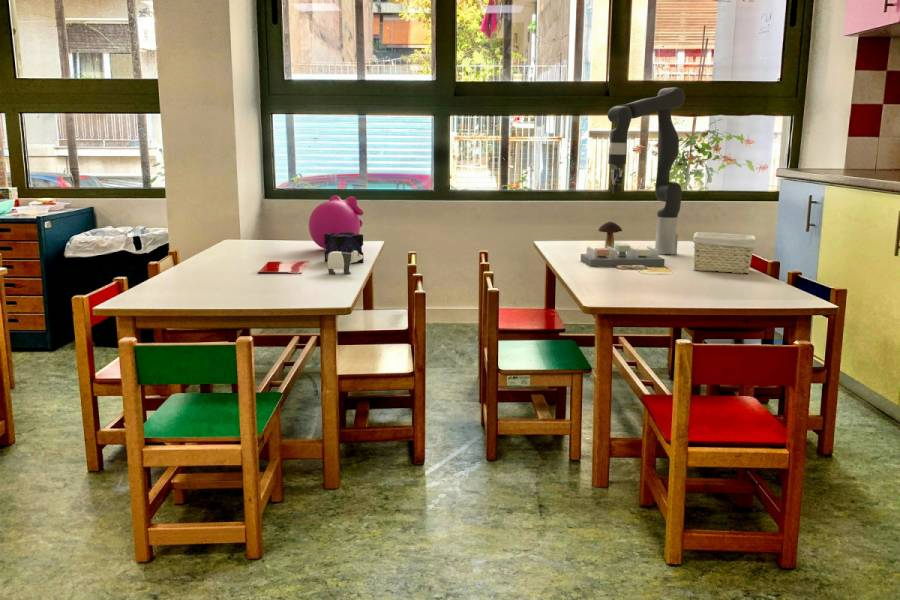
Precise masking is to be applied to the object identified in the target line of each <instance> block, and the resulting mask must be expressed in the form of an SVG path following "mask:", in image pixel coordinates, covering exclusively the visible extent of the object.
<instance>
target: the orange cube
mask: <svg viewBox="0 0 900 600" xmlns="http://www.w3.org/2000/svg"><path fill="white" fill-rule="evenodd" d="M594 249H595V250H597V255H598V257H605V256H609V249H607V248H605V247H595V248H594Z"/></svg>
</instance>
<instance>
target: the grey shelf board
mask: <svg viewBox="0 0 900 600" xmlns="http://www.w3.org/2000/svg"><path fill="white" fill-rule="evenodd" d="M646 248H647V249H650V255H647V256H646V257H639V255H638V250H636V249H635V248H634V247H631V246H630V252H626V256H619V252H618V250H616V249H615V247H614V248H611V247H607V249H609V256H605V257H598V255H597V250H595V248H593V247H591V246H587V247H586V253H580V261H581V262H582V263H584V264H586V265H587V266H589V267H593V268H594V267H595V268H599V267H600V268H601V267H605V268H606V267H607V268H608V267H609V268H610V267H615V268H616V266H619V265H629V266H632V265H642V266H646V267H665V262H666V261H665V258H662V257H660V256H659V255H660V254H659V250H657V249H655V248H654V247H652V246H646Z"/></svg>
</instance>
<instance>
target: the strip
mask: <svg viewBox="0 0 900 600" xmlns="http://www.w3.org/2000/svg"><path fill="white" fill-rule="evenodd" d="M615 268H616V269H617V270H648V266H642V265H632V266H629V265H619V266H615Z"/></svg>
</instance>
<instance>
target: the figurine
mask: <svg viewBox="0 0 900 600" xmlns="http://www.w3.org/2000/svg"><path fill="white" fill-rule="evenodd" d="M363 215H364V211H363V210H362V208H360V206H358V201H357V198H356V196H352V195H351V196H348V197H346V198H345V199H341V197H340V196H339V195H336V194H335V195H332V196H331V197H330V198H329V200H328V201H325V202H323V203H320V204H319V205H317V206H316V207H315V208H314V209H313V210H312V212H311V213H310V217H309V220H308V232H309V235H310V237H311V239H312V241H313V242H314V243H315V244H316V245H317V246H318V247H319V248H322V249H324V250H326V245H325V244H324V234H326V233H335V234H340V233H341V232H352V233H354V234H360V232H361V227H362V226H363V221H362V220H361V219H360V218H359V216H363Z"/></svg>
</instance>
